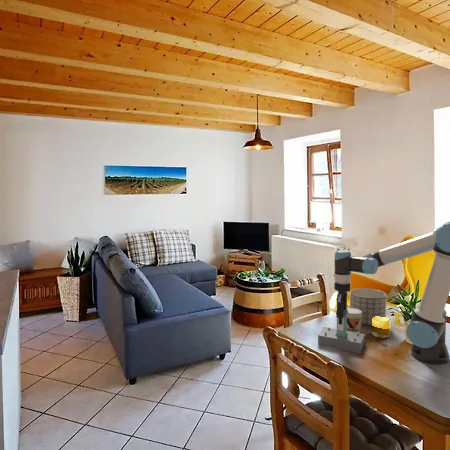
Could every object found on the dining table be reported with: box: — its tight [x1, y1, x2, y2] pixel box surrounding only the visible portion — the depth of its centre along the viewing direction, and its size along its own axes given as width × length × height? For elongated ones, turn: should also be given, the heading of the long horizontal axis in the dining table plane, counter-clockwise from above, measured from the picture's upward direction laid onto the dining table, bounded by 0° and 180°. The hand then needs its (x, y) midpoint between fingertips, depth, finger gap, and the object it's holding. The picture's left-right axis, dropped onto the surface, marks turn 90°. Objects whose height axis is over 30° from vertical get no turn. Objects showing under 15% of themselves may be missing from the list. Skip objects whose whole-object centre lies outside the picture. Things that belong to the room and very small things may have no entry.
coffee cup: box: [347, 307, 362, 333], centre depth 190 cm, size 9×9×12 cm
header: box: [317, 326, 366, 354], centre depth 176 cm, size 20×12×6 cm, turn 60°
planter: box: [349, 287, 387, 327], centre depth 202 cm, size 19×19×18 cm
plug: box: [335, 310, 348, 338], centre depth 175 cm, size 5×5×16 cm
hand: (341, 328), depth 175 cm, fingers closed on plug, 4 cm apart
